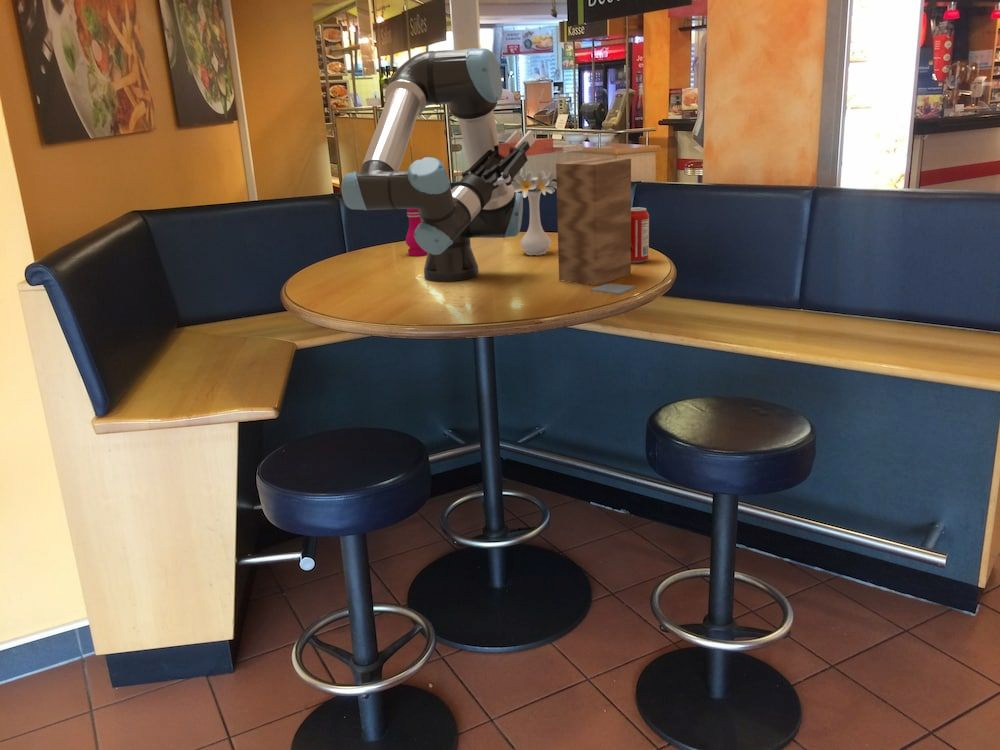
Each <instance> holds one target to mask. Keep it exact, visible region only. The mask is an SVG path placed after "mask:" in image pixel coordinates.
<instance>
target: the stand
mask: <svg viewBox="0 0 1000 750" xmlns="http://www.w3.org/2000/svg"><path fill="white" fill-rule="evenodd" d="M555 170H556V172H555V173H556V176H555V177H556V182H557V190H556V210H557V211H556V212H557V213H556V214H557V216H556V217H557V249H558V281H559V280H564V281H563V282H566V281H570V282H569V283H574V282H577V283H576V284H581V283H584V284H583V285H589V284H591V286H601V285H604V284H606V283H609V282H610V281H614V280H617V279H620V278H622V277H624V276H628V275H631V274H632V268H631V267H632V263H631V208H632V158H620V157H619V158H617V157H610V158H608V157H590V158H583V159H578V160H571V161H565V162H559V163H555Z"/></svg>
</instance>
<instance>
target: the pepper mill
mask: <svg viewBox="0 0 1000 750" xmlns="http://www.w3.org/2000/svg"><path fill="white" fill-rule="evenodd" d="M406 211H407V212H406V217H408V224H409V225H408V230H407V233H406V236H405V244H406V245H407V247H409V248H408V249H407V253H408V256H411V257H421V256H427V254H428V252H426V251H425V250H423V249H422V248H421V247H420V246H419V245H418V243H417V242H416V240H415V237H414V232H415V229H416V228H417V226H418V224H420V223H421V221H422V220H421V217H420V214H419V210H418V209H406Z"/></svg>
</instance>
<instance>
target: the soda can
mask: <svg viewBox="0 0 1000 750" xmlns="http://www.w3.org/2000/svg"><path fill="white" fill-rule="evenodd" d="M649 233H650V214H649V212H648V210H647V208H646V207H639V206H638V207H631V264H633V263H635V264H642V263H645V262H646V261H648V259H649V256H650V255H649V249H650V246H649V245H650V244H649V243H650V241H649V240H650V235H649Z"/></svg>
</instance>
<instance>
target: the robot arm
mask: <svg viewBox="0 0 1000 750" xmlns="http://www.w3.org/2000/svg"><path fill="white" fill-rule="evenodd" d="M502 96H503V80H502V71H501V68H500V64H499V61H498V59H497V57H496V55H495V53H494V52H493V51H491V50H490V49H488V48H476V47H469V48H465V49H462V48H461V49H448V50H447V49H446V50H445V49H444V50H430V51H428V50H427V51H423V52H420V53H418V54H416V55H414V56H412V57H410V58H409V59H407V60H406V61H405V62H404V63H402V64H401V66H399V67H398V68H397V70H396V71H394V73H393V74H392V76H391V77H390V79H389V81H388V83H387V85H386V87H385V90H384V95H383V97H384V101H385V103H384V106H383V108H382V110H381V115H380V117H379V119H378V122H377V125H376V127H375V130H374V133H373V135H372V138H371V141H370V143H369V146H368V148H367V152H366V154H365V157H364V160H363V162H362V164H361V167H360V169H359V171H355V170H354V171H353V172H348V173H346V174H344V175H343V177H342V181H341V195H342V199H343V201H344V204H345V206H346V207H347V208H349V209H350V210H357V211H358V210H359V211H360V210H362V211H375V210H376V211H377V210H407V209H418V210H419V214H420V217H421V220H422V221H421V223H420V224H418V226H417V228H416V229H415V232H414V237H415V240H416V242H417V243H418V245H419V246H420V247H421V248H422V249H423V250H425V251H426V252H428V254H426V259H425V263H424V267H423V268H424V269H423V276H424V278H425V280H429V281H437V282H453V281H454V282H457V281H462V280H463V281H464V280H469V279H473V278H475V277H477V276H479V265H478V262H477V259H476V257H475V255H474V251H473V250H472V246H471V239H473V238H474V239H475V238H476V239H478V238H479V239H481V238H485V239H487V238H489V239H490V238H494V239H497V238H500V239H501V238H503V239H506V238H514V237H517V236H519V234H520V232H521V227H522V221H523V213H524V197H523V196H522V192H514V188H513V186H512V185H511V183H512V181H513V178H514V177H515V176H516V174H517V175H518V173H519V171H521V169H522V168H523V167H524V166H525V164H527V162H528V161H529V160H528V156H526V154H525V153H526V152H527V151H528V149H529V148H530V146H531V145H532V144H533V143H534V142H535V139H536V138H535V136H534V133H533V130H531V129H530V130H528V131H527V132H526V133H525V134H524V135H523V136H522V137H521V135H520V131H519V130H515V131H514V132H512V134H511V135H510V136H509V137H508V138H507V139H506V140H505V141H504V142H503V143H506V142H515V141H519V142H518V143H517V144H516V145H515V146H514V149H515V150H514V151H512V152H511V153H510V154H509V155H508V156H507V157H506V158H499V149H498V143H500V141H499V136H498V134H499V133H498V130H497V126H496V125H497V124H496V119H495V118H496V117H495V113H494V110H495V109H496V108H497V107H498V106H497V105H498V102H499V101H500V100H501V99H502ZM431 105H432V106H433V105H447V106H448V110H449V112H450V114H451V115H452V117H454V118H455V119H457V120H458V121H457V122H458V125H459V128H460V133H461V137H462V142H463V145H464V146H463V147H464V150H465V154H466V159H467V162H468V167H469V168H468V169H467V170H465V171H464V172H462V173H461V176H462V178H461V180H460V181H459V182H458V183H457V184H456V185H455V186H454V187H451V182H450V177H449V176H448V173H447V169H446V167H445V165H444V163H443V162H442V161H441V160H439V158H436V157H432V156H425V157H423V158H421V159H416V160H415V161H413V162H412V163H410V165H409V166H408V169H407V170H400V168H401V165H402V162H403V159H404V156H405V154H406V150H407V147H408V145H409V142H410V139H411V137H412V132H413V130H414V127H415V123H416V121H417V118H418V116H420V115H421V114H422V113H423V112H424V111H425V109H426V107H428V106H431Z"/></svg>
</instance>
